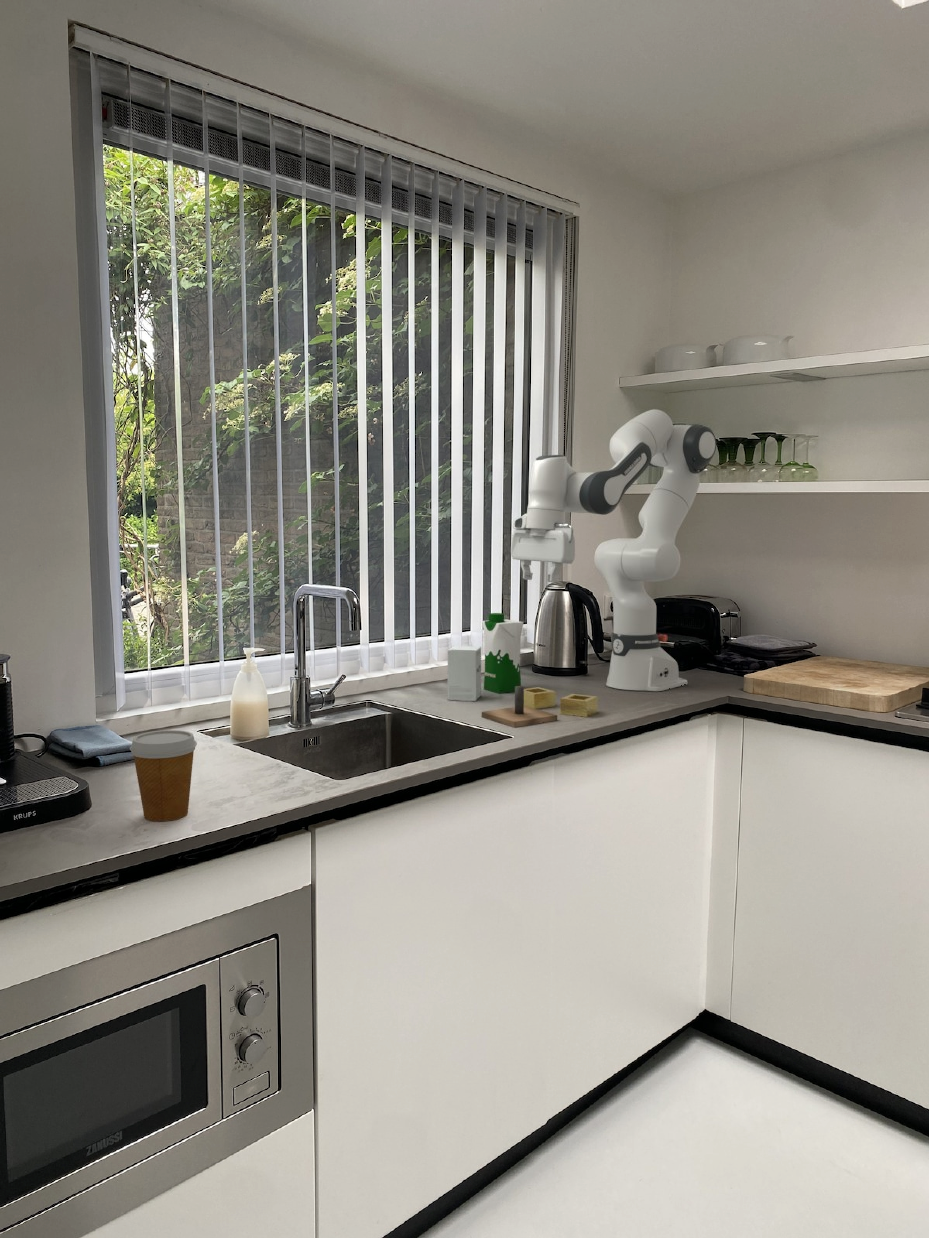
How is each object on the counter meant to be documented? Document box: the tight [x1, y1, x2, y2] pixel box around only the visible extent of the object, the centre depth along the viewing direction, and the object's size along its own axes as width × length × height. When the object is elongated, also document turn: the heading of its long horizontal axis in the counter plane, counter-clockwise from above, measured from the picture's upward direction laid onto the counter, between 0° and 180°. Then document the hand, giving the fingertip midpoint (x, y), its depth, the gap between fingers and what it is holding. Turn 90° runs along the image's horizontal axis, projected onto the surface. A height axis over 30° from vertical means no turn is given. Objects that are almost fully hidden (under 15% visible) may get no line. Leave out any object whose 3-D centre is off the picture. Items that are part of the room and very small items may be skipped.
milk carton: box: [481, 612, 524, 694], centre depth 234 cm, size 9×9×20 cm
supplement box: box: [446, 645, 482, 702], centre depth 224 cm, size 7×7×13 cm
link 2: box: [560, 693, 599, 718], centre depth 207 cm, size 6×6×4 cm
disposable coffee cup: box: [129, 729, 198, 822], centre depth 136 cm, size 10×10×12 cm
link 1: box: [524, 686, 556, 710], centre depth 215 cm, size 6×6×4 cm
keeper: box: [481, 685, 558, 728], centre depth 201 cm, size 12×12×7 cm
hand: (539, 580), depth 216 cm, fingers open, 8 cm apart
